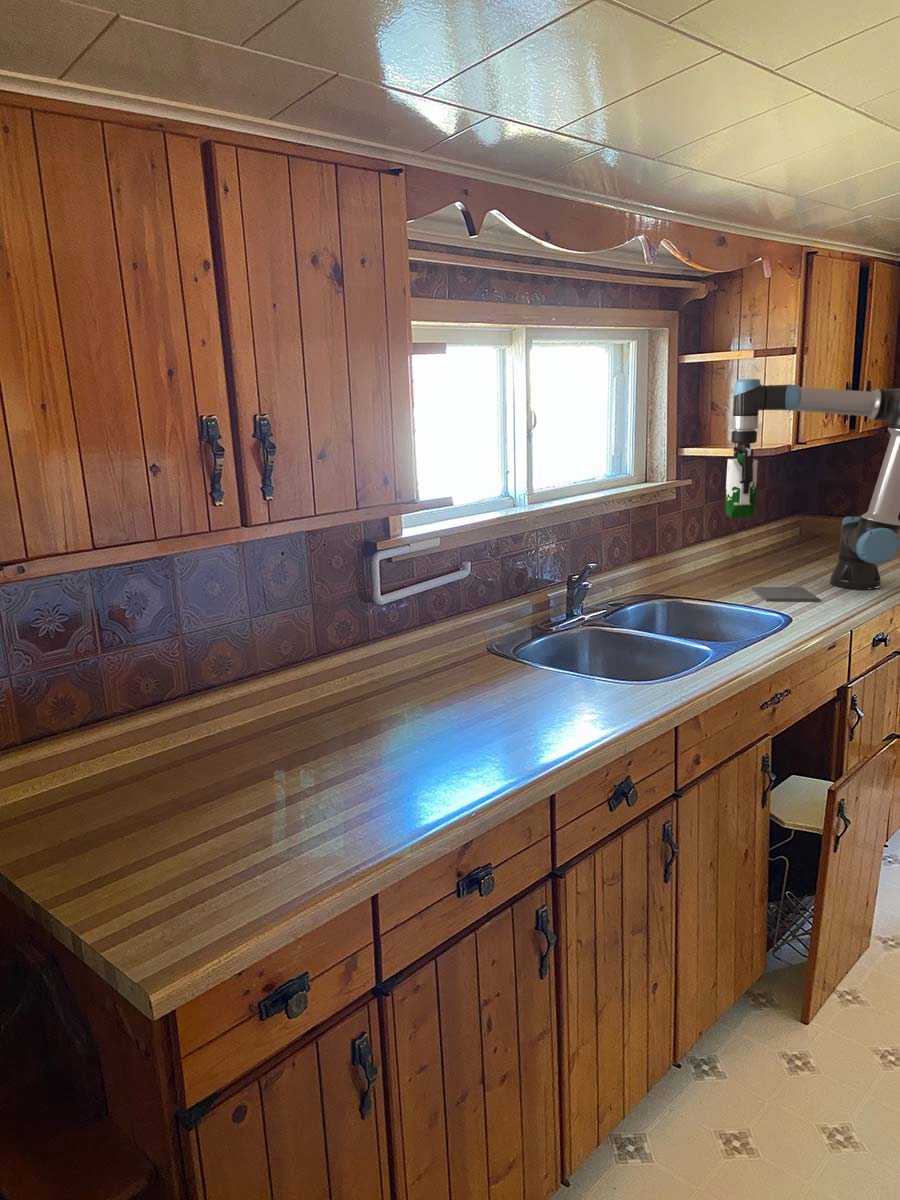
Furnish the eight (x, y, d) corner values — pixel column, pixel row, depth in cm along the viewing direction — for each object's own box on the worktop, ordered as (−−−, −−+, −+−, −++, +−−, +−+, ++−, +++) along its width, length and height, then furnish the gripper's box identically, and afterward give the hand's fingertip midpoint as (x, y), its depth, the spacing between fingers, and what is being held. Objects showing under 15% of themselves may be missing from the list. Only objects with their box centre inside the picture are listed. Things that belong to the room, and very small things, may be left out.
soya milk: (728, 518, 264) (731, 454, 259) (722, 514, 272) (725, 452, 268) (756, 518, 263) (761, 453, 258) (750, 514, 271) (753, 451, 267)
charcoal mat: (801, 590, 273) (801, 587, 273) (819, 601, 258) (819, 598, 257) (751, 589, 274) (751, 586, 274) (766, 601, 259) (766, 598, 258)
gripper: (723, 429, 272) (720, 498, 277) (741, 431, 251) (737, 506, 256) (747, 428, 271) (743, 497, 277) (767, 431, 250) (762, 506, 256)
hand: (740, 502), depth 266 cm, fingers closed on soya milk, 9 cm apart
